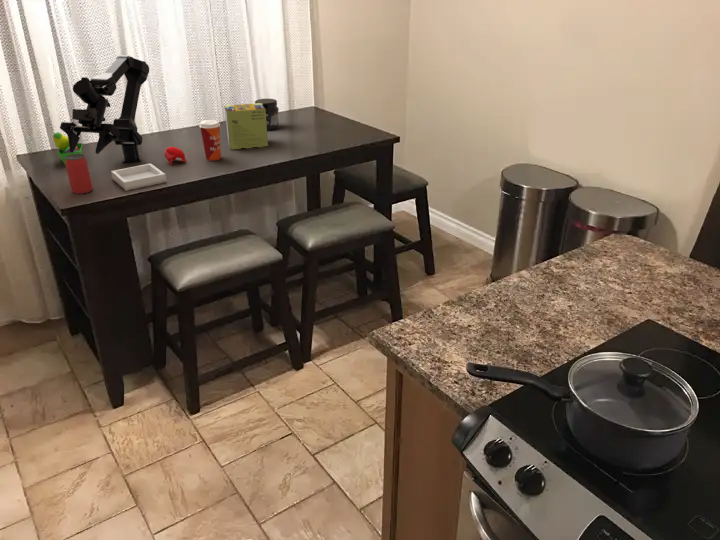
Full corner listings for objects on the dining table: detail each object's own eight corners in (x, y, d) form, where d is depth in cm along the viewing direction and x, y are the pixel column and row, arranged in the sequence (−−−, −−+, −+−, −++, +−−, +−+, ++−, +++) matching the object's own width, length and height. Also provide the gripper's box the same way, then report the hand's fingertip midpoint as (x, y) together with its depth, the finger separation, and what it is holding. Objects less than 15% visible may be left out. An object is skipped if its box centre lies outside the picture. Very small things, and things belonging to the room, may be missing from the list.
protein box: (268, 146, 247) (265, 108, 239) (230, 150, 243) (226, 111, 235) (264, 139, 255) (261, 102, 248) (227, 142, 251) (223, 105, 244)
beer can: (93, 186, 206) (86, 152, 200) (92, 193, 201) (84, 158, 195) (72, 188, 204) (64, 154, 199) (71, 195, 199) (62, 160, 193)
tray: (112, 179, 213) (111, 171, 211) (151, 171, 220) (150, 163, 218) (125, 190, 203) (124, 182, 201) (166, 182, 210) (165, 173, 209)
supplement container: (251, 127, 272) (249, 100, 267) (272, 123, 278) (270, 97, 272) (263, 132, 265) (261, 104, 259) (284, 128, 270) (282, 101, 265)
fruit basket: (82, 164, 226) (75, 135, 221) (56, 166, 224) (49, 136, 219) (85, 155, 236) (79, 126, 231) (61, 157, 234) (53, 128, 228)
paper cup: (216, 162, 229) (212, 125, 222) (199, 160, 231) (194, 123, 225) (227, 156, 235) (223, 120, 229) (210, 154, 238) (206, 118, 231)
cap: (161, 157, 223) (174, 149, 222) (161, 148, 227) (174, 140, 226) (176, 171, 229) (189, 163, 228) (176, 161, 233) (188, 153, 232)
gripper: (56, 97, 200) (43, 139, 195) (108, 99, 197) (96, 142, 192) (75, 115, 210) (63, 155, 206) (125, 117, 207) (114, 158, 203)
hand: (83, 152), depth 201 cm, fingers open, 9 cm apart
